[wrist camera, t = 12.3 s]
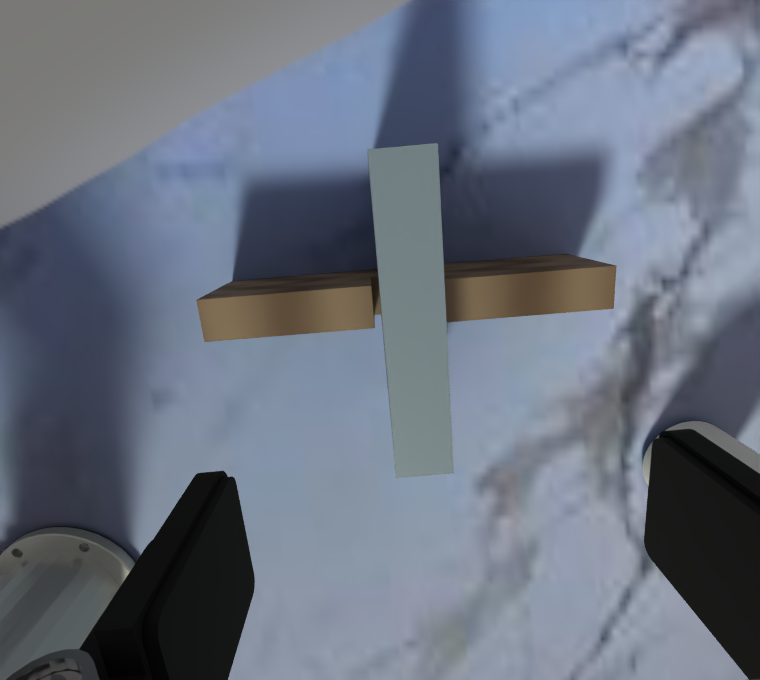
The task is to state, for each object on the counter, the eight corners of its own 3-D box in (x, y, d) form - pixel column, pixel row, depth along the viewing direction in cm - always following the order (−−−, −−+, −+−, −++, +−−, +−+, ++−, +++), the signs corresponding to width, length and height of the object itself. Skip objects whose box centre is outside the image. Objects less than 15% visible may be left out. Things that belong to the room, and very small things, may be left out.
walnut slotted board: (237, 315, 34) (204, 341, 27) (232, 281, 33) (196, 299, 26) (564, 288, 34) (613, 308, 27) (566, 253, 33) (616, 265, 26)
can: (625, 485, 38) (734, 605, 27) (657, 409, 36) (789, 502, 25) (702, 500, 39) (843, 623, 27) (738, 426, 37) (904, 525, 25)
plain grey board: (368, 171, 31) (367, 149, 20) (412, 167, 31) (437, 143, 20) (388, 390, 35) (396, 477, 24) (426, 386, 35) (453, 473, 24)
